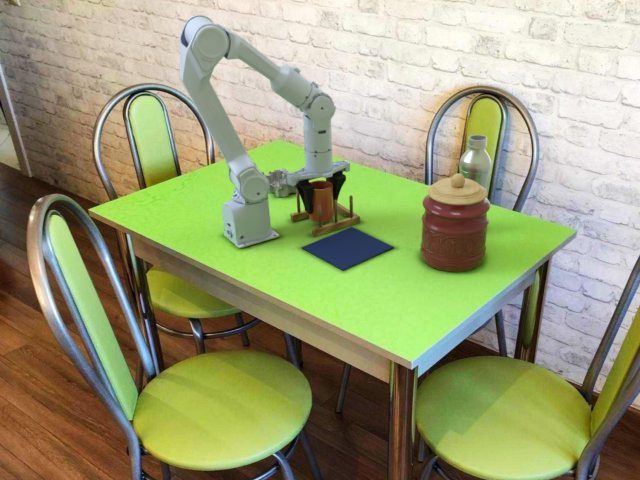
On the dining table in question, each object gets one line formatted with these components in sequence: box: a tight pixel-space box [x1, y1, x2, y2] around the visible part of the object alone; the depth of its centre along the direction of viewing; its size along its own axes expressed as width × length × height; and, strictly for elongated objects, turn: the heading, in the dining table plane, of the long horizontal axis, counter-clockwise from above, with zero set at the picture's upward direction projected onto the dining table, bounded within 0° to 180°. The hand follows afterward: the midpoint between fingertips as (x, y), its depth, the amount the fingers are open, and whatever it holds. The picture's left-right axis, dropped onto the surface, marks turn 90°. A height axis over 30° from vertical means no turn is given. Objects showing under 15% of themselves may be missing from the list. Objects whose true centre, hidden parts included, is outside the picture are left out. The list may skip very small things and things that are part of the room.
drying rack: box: [289, 190, 361, 238], centre depth 153 cm, size 12×10×7 cm
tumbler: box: [308, 179, 334, 223], centre depth 151 cm, size 6×6×8 cm
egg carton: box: [261, 168, 297, 198], centre depth 169 cm, size 11×8×4 cm
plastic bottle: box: [458, 134, 492, 190], centre depth 146 cm, size 6×7×20 cm
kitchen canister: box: [420, 173, 491, 272], centre depth 135 cm, size 13×13×18 cm
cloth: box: [301, 226, 395, 272], centre depth 144 cm, size 14×13×1 cm
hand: (320, 208), depth 152 cm, fingers closed on tumbler, 5 cm apart
